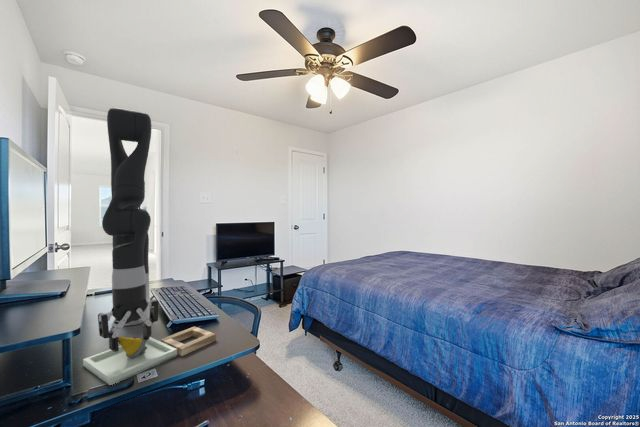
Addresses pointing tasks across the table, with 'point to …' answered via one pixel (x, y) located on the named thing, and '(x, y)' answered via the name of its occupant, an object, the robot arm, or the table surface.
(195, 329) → the square wooden frame
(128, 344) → the yellow cone
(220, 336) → the table surface
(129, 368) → the tray
